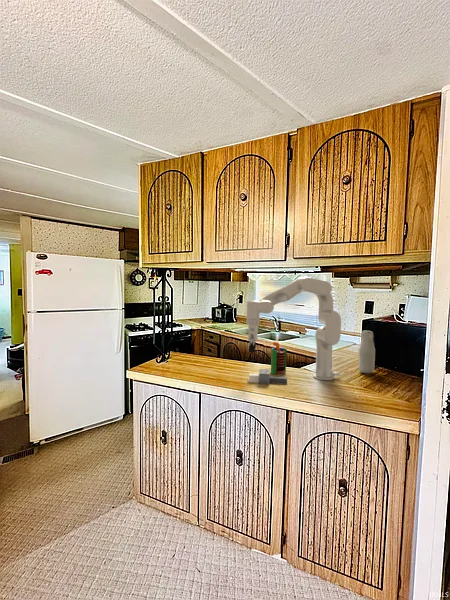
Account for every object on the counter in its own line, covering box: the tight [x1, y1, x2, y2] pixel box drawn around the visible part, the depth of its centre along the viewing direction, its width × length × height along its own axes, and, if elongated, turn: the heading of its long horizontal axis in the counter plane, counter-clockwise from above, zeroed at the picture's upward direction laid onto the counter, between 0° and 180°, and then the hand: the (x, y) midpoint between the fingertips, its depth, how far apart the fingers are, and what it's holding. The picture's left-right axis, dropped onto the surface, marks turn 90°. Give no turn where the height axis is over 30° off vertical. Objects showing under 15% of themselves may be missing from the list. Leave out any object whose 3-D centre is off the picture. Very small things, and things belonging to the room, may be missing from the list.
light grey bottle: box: [358, 330, 376, 374], centre depth 216 cm, size 10×10×28 cm
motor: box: [270, 341, 288, 376], centre depth 215 cm, size 10×9×20 cm
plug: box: [248, 373, 288, 385], centre depth 196 cm, size 22×4×4 cm, turn 82°
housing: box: [258, 368, 271, 386], centre depth 196 cm, size 6×10×6 cm, turn 172°
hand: (252, 350), depth 196 cm, fingers open, 9 cm apart
